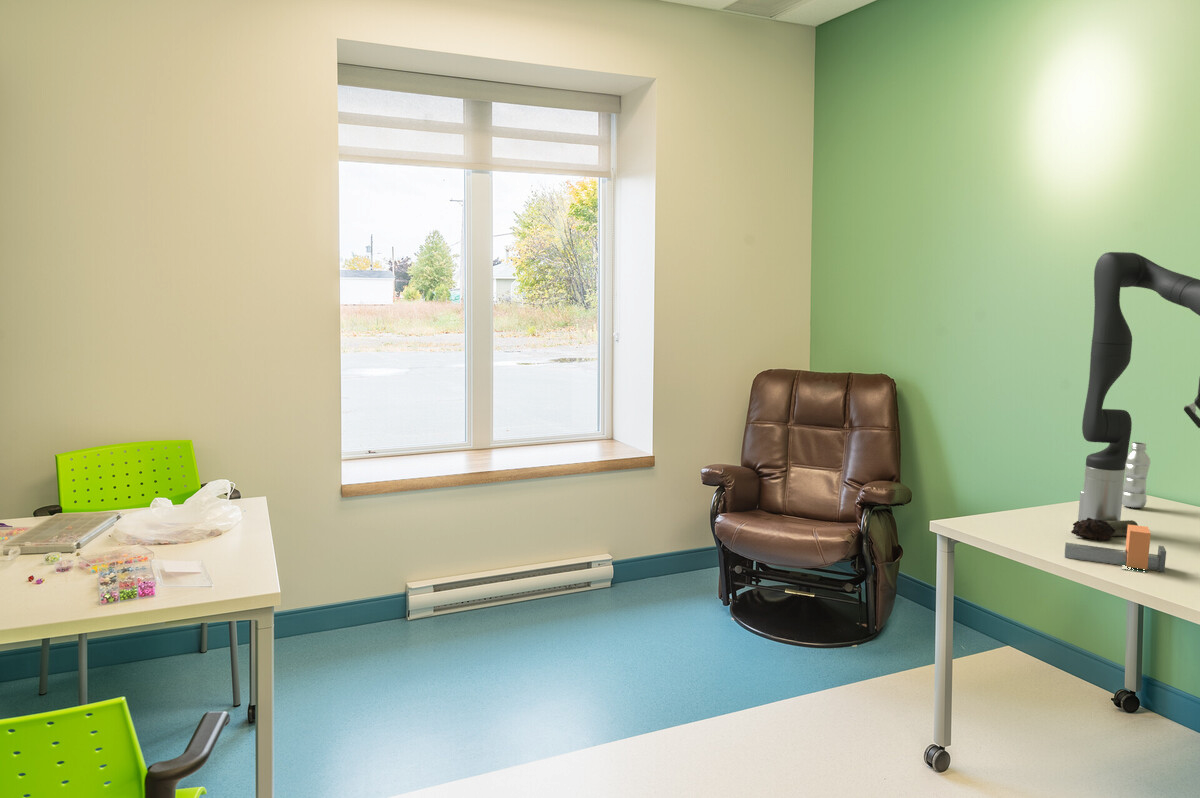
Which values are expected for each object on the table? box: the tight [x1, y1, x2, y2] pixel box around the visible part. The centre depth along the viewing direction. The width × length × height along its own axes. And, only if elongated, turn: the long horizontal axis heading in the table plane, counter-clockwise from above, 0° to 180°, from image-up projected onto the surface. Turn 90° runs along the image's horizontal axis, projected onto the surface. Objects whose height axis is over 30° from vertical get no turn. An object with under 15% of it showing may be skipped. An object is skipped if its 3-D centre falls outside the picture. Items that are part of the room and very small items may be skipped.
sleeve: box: [1125, 525, 1152, 570], centre depth 192 cm, size 4×7×9 cm, turn 151°
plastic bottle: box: [1122, 441, 1151, 509], centre depth 248 cm, size 6×7×20 cm
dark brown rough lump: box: [1070, 518, 1139, 542], centre depth 215 cm, size 18×7×6 cm, turn 102°
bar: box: [1064, 542, 1167, 574], centre depth 194 cm, size 20×10×5 cm, turn 61°
